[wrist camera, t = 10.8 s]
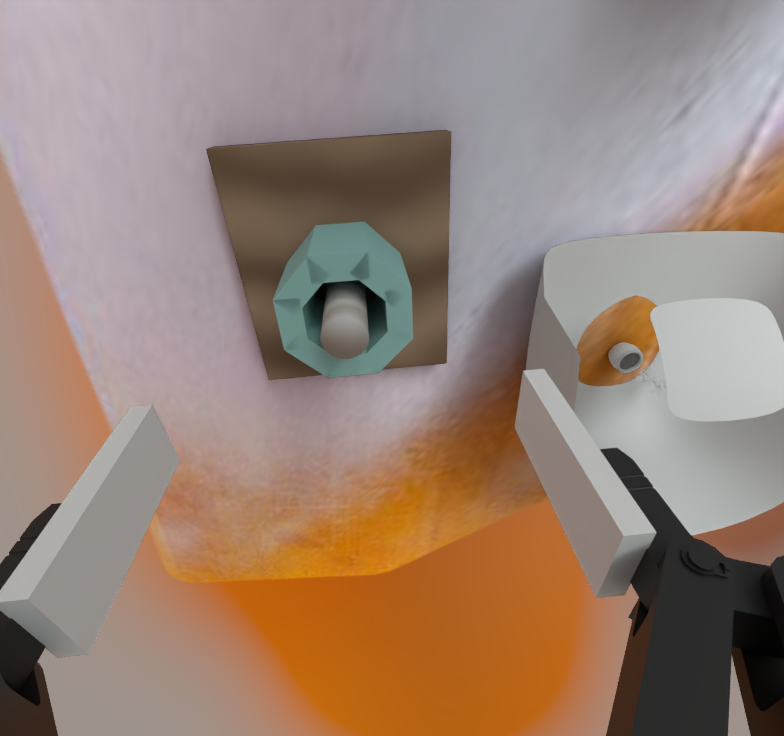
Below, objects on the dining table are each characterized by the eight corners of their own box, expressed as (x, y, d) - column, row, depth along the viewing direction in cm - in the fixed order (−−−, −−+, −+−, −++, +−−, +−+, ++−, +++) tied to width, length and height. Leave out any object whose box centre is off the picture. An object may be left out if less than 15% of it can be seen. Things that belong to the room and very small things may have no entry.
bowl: (491, 438, 40) (538, 550, 30) (520, 238, 29) (607, 310, 19) (689, 423, 41) (796, 526, 31) (785, 224, 30) (995, 285, 20)
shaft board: (213, 146, 24) (137, 173, 16) (446, 129, 25) (497, 146, 16) (272, 369, 33) (244, 465, 25) (442, 353, 34) (475, 442, 25)
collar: (280, 227, 25) (263, 260, 20) (398, 218, 25) (410, 248, 20) (301, 332, 29) (291, 381, 24) (403, 323, 29) (414, 369, 24)
